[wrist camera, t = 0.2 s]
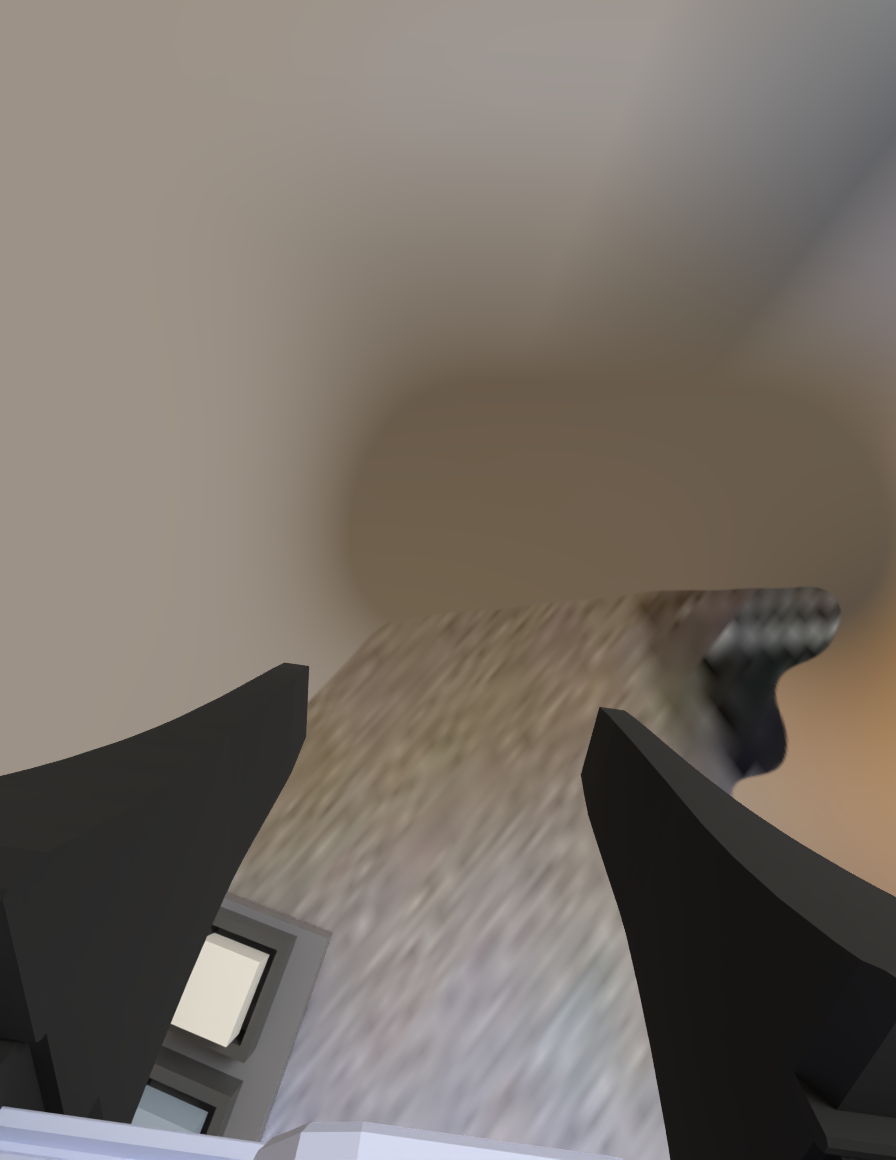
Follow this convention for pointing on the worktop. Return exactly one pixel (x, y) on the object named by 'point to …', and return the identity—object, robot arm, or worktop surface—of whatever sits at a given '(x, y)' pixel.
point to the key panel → (247, 1026)
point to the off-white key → (220, 989)
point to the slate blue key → (168, 1112)
